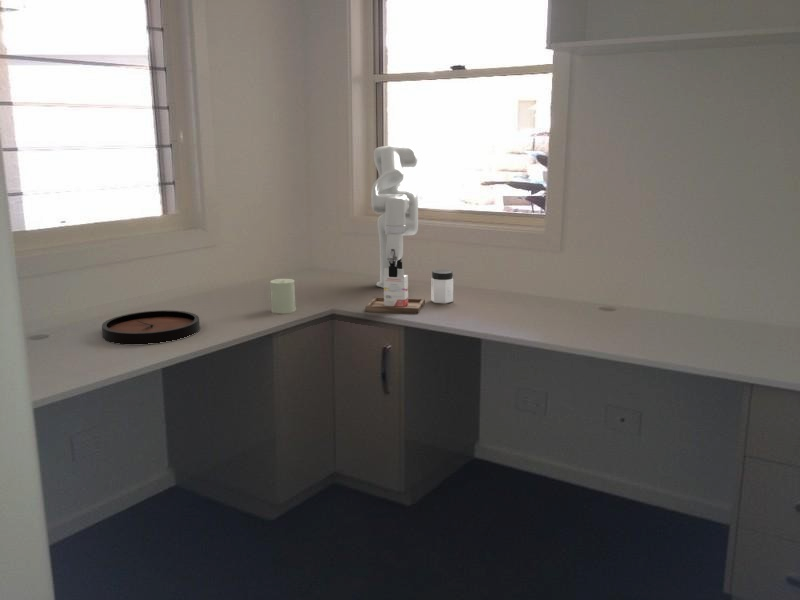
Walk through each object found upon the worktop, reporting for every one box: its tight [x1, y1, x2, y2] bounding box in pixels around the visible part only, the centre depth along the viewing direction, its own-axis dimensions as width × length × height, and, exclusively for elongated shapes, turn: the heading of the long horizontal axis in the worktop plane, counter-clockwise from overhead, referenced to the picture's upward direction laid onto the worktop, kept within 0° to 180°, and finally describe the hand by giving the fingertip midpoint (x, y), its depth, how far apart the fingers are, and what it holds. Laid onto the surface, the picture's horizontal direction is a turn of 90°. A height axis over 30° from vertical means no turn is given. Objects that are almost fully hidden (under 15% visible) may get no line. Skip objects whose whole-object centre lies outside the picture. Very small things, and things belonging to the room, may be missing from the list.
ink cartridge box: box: [383, 268, 409, 307], centre depth 279 cm, size 9×5×15 cm, turn 72°
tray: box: [365, 296, 426, 315], centre depth 280 cm, size 16×20×2 cm
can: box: [269, 278, 297, 315], centre depth 275 cm, size 9×9×12 cm
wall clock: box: [101, 309, 201, 345], centre depth 248 cm, size 31×4×31 cm
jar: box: [430, 269, 454, 304], centre depth 290 cm, size 9×8×12 cm
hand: (395, 274), depth 278 cm, fingers open, 9 cm apart
